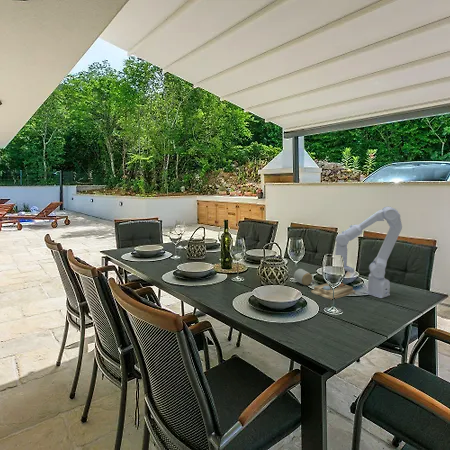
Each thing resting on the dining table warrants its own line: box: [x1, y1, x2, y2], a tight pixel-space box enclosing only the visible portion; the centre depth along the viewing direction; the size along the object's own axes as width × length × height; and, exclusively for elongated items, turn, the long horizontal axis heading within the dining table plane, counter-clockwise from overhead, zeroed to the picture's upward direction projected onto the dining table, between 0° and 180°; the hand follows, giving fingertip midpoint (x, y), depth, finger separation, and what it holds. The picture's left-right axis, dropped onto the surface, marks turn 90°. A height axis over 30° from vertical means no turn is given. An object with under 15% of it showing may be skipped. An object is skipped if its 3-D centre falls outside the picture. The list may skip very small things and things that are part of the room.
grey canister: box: [293, 268, 315, 286], centre depth 183 cm, size 11×8×8 cm
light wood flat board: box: [311, 283, 356, 301], centre depth 168 cm, size 13×18×3 cm
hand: (339, 282), depth 170 cm, fingers closed, pressing on terracotta button
